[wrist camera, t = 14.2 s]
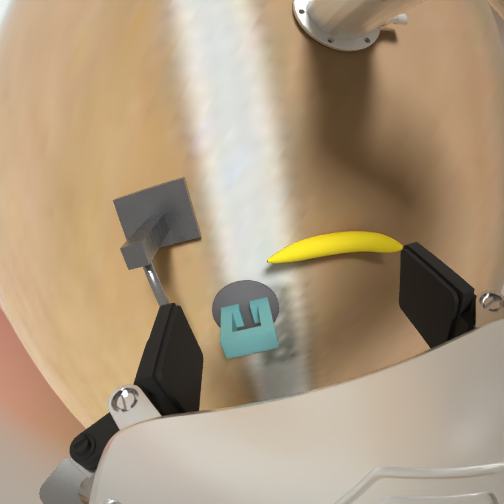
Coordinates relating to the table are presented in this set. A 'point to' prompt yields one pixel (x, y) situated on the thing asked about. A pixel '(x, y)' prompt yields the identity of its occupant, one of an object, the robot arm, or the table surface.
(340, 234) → the banana
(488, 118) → the table surface
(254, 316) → the link
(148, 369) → the robot arm
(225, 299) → the coaster
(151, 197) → the stand
